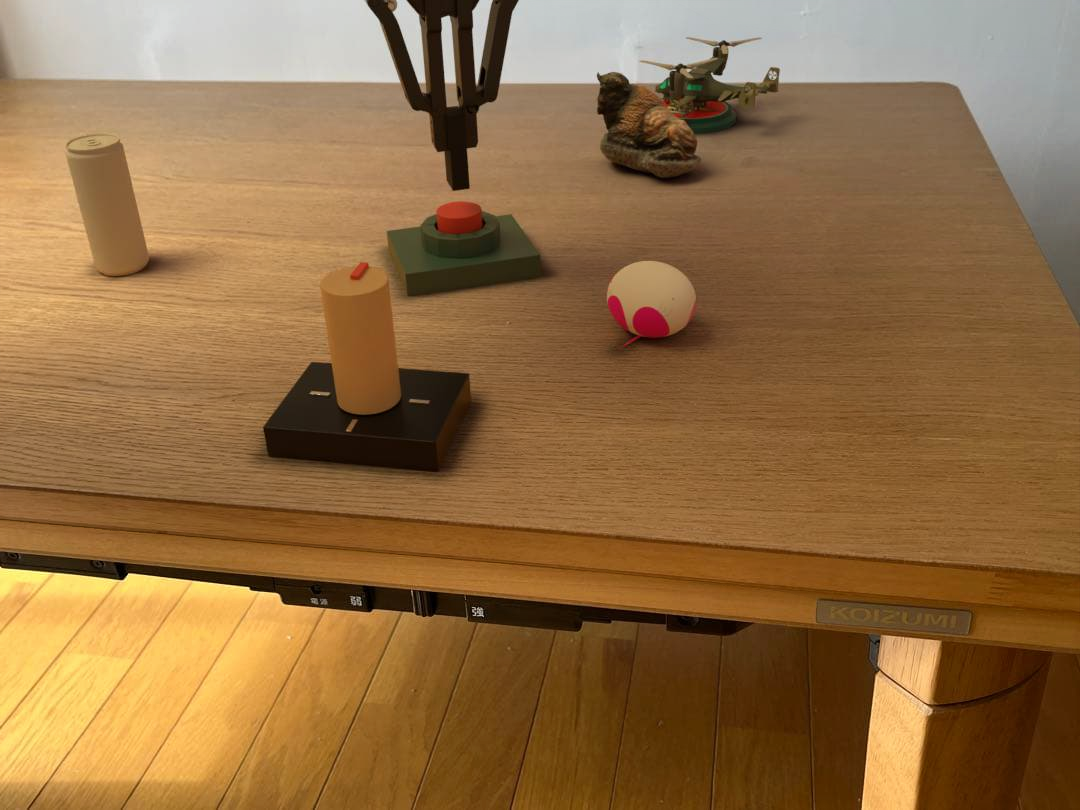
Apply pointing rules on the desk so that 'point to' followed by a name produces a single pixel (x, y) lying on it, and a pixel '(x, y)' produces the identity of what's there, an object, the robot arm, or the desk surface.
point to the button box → (462, 255)
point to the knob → (361, 339)
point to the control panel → (370, 422)
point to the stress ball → (651, 299)
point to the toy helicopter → (709, 90)
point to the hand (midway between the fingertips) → (458, 184)
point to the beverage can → (107, 203)
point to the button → (459, 217)
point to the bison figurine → (643, 130)
